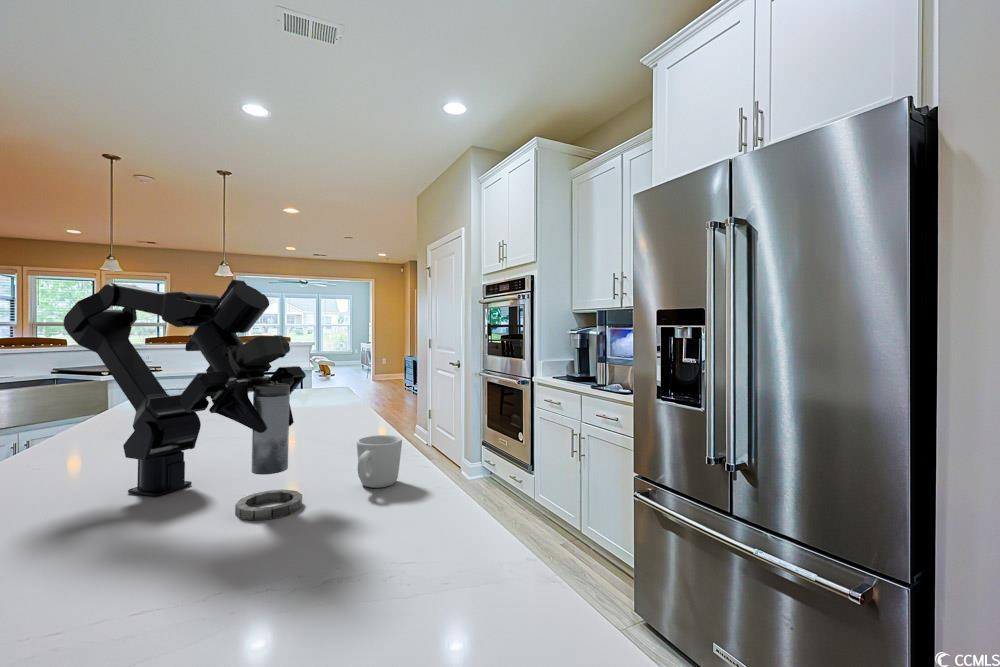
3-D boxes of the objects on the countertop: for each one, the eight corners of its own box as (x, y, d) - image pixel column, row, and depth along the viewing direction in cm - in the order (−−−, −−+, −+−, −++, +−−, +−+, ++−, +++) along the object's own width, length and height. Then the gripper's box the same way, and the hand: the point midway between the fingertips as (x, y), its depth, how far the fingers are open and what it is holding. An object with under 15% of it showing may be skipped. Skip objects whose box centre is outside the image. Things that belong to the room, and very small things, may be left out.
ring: (221, 516, 66) (221, 506, 66) (267, 496, 75) (267, 487, 75) (272, 523, 64) (273, 513, 64) (313, 501, 73) (313, 492, 73)
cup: (382, 498, 75) (383, 450, 75) (338, 494, 76) (339, 447, 76) (408, 478, 85) (409, 436, 85) (369, 475, 87) (370, 433, 87)
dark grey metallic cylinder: (247, 475, 67) (250, 387, 67) (255, 466, 71) (257, 383, 71) (285, 473, 68) (287, 386, 68) (290, 464, 73) (292, 383, 73)
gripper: (196, 315, 62) (255, 400, 59) (298, 320, 80) (349, 386, 76) (155, 369, 65) (209, 455, 61) (263, 363, 83) (310, 429, 79)
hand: (277, 427), depth 69 cm, fingers closed on dark grey metallic cylinder, 5 cm apart
